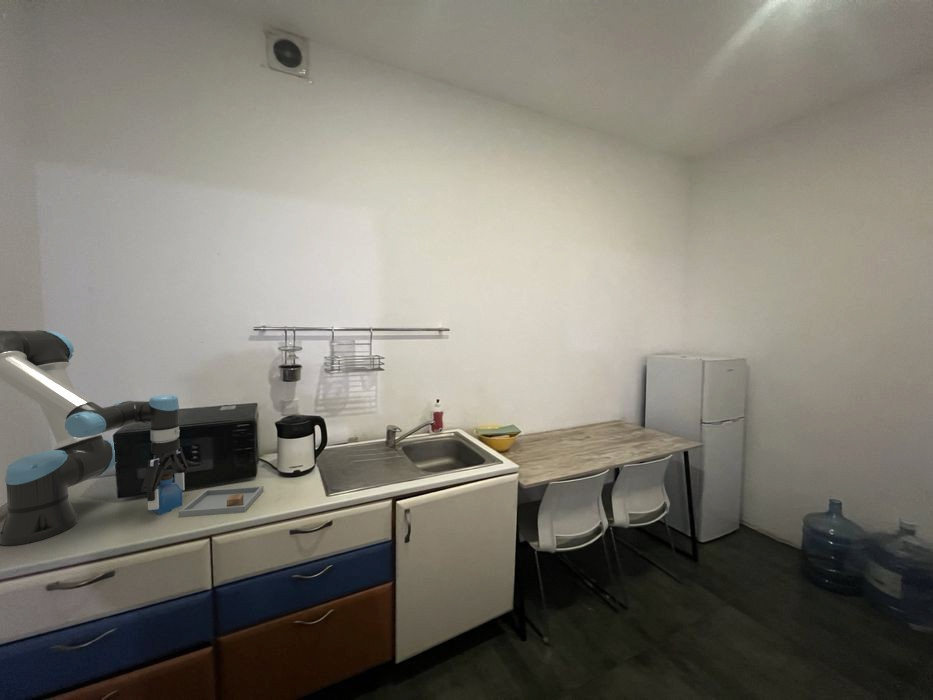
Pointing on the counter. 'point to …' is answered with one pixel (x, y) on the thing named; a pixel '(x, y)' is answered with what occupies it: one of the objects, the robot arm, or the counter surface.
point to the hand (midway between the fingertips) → (167, 499)
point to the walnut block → (235, 500)
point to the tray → (220, 501)
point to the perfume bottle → (168, 494)
